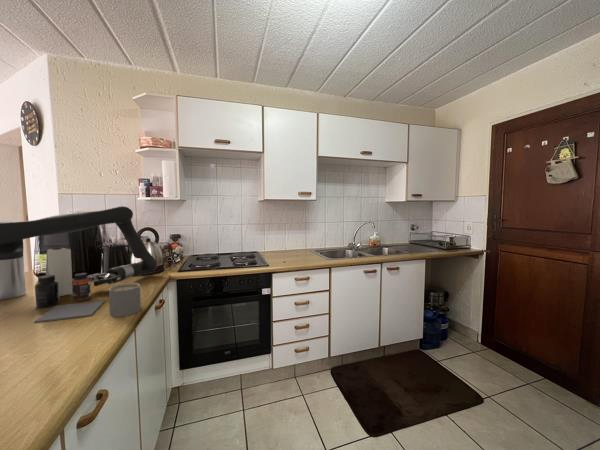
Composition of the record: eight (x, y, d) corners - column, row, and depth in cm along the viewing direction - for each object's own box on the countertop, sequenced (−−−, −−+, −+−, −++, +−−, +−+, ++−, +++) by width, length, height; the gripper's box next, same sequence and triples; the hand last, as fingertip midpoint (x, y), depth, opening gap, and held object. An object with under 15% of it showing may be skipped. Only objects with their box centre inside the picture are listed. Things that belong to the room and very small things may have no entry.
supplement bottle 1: (63, 303, 103) (62, 275, 102) (42, 309, 96) (40, 279, 95) (53, 300, 105) (52, 273, 104) (32, 306, 99) (30, 277, 98)
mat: (34, 322, 86) (34, 321, 86) (55, 307, 99) (55, 305, 98) (91, 315, 92) (91, 314, 92) (104, 302, 105) (104, 300, 105)
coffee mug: (135, 315, 93) (134, 289, 92) (104, 318, 90) (103, 291, 89) (146, 302, 106) (146, 279, 105) (120, 304, 103) (119, 280, 102)
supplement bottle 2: (94, 297, 110) (93, 272, 109) (81, 302, 104) (80, 276, 103) (82, 296, 111) (81, 271, 110) (68, 301, 105) (67, 275, 104)
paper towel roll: (47, 295, 110) (44, 249, 108) (64, 291, 115) (61, 247, 114) (56, 298, 107) (53, 250, 105) (72, 294, 113) (70, 248, 111)
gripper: (109, 265, 126) (74, 273, 110) (132, 267, 123) (99, 276, 107) (109, 279, 127) (74, 289, 111) (132, 281, 124) (100, 292, 108)
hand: (87, 283), depth 109 cm, fingers open, 8 cm apart
